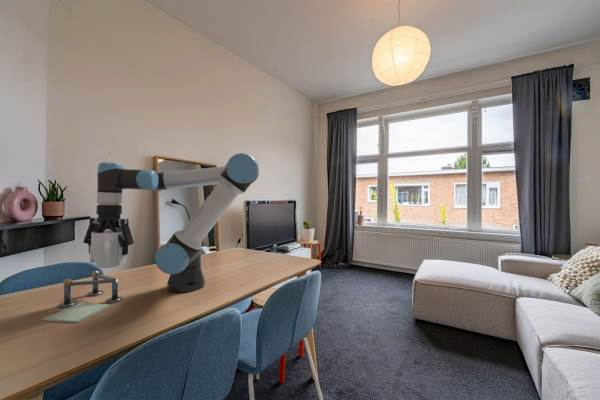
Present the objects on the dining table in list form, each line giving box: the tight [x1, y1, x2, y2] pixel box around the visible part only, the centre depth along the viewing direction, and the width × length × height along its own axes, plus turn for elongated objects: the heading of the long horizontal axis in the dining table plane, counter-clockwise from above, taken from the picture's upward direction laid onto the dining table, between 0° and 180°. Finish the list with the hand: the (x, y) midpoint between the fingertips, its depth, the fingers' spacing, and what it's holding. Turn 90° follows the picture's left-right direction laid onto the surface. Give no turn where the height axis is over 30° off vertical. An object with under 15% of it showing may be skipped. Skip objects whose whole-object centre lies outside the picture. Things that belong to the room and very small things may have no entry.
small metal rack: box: [57, 270, 124, 309], centre depth 94 cm, size 18×16×9 cm
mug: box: [91, 229, 123, 269], centre depth 93 cm, size 15×11×13 cm
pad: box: [42, 302, 112, 324], centre depth 83 cm, size 12×12×1 cm
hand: (108, 263), depth 93 cm, fingers closed on mug, 11 cm apart
